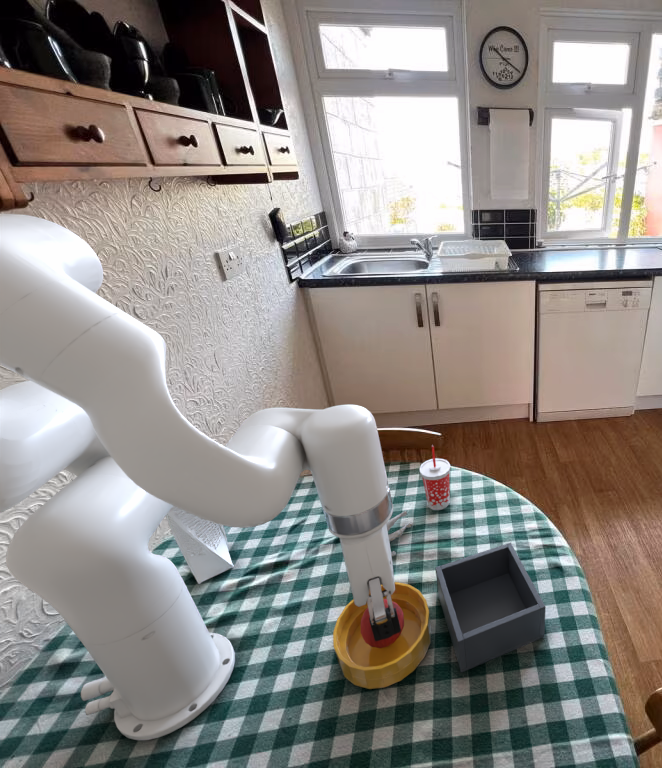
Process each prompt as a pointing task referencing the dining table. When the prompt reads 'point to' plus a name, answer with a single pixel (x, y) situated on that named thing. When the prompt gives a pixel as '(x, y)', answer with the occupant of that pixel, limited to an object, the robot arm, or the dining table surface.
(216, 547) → the skyscraper
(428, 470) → the beverage cup
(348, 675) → the bowl
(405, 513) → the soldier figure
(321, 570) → the dining table surface
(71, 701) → the dining table surface
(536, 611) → the bin
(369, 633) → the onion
